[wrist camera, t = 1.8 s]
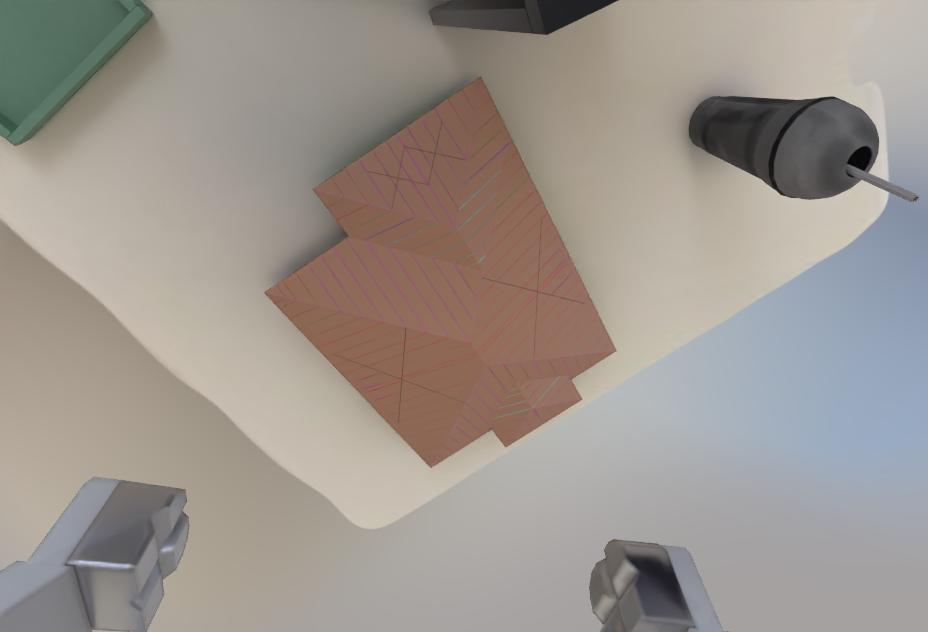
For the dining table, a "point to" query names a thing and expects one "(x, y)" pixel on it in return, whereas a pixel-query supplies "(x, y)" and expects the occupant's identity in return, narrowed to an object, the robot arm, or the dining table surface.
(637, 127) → the dining table surface
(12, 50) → the tray
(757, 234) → the dining table surface
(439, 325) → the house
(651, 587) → the robot arm
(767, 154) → the beverage cup
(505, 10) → the black coffee maker
